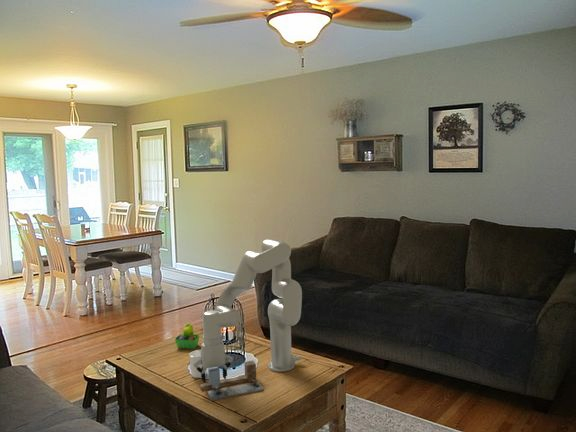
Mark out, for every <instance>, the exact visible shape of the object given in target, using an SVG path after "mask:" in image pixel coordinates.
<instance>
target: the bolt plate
mask: <svg viewBox="0 0 576 432" xmlns="http://www.w3.org/2000/svg"><path fill="white" fill-rule="evenodd" d="M264 389H265V388H264V387H263V385H262V384H261V383H260V382H259V381H254V382H253V381H252V382H249V383H245V384H240V385H239V384H238V385H234V386H228V387H223V388H218V389H214V390H209V391H207V395H208V397H209V400H210V401H211V402H213V401H219V400H222V399H228V398H234V397H239V396H243V395H247V394H253V393H258V392H263V391H264Z"/></svg>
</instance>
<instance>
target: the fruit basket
mask: <svg viewBox="0 0 576 432" xmlns="http://www.w3.org/2000/svg"><path fill="white" fill-rule="evenodd" d="M194 332H195V331H194V325H192V323H189V322H188V323H186V325H185V326H184V328H183V330H182V333H183V334H179V335H177V336H176V337H175V338H174V340H175V343H176V346H177V348H178V349H191V350H192V349H193V350H194V349H196V347H197V346H198V345H199V340H200V336H201V334H194Z"/></svg>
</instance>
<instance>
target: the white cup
mask: <svg viewBox="0 0 576 432" xmlns="http://www.w3.org/2000/svg"><path fill="white" fill-rule="evenodd" d="M188 356H189V364H190V372H191V376H192V377H193V378H198V379H200V378H201V373H200V372H199V371H198V370H197V369H196V368H195V367H194V363H196V362H197V361H198V360H199V359H200V358H201V349H196V350H193V351H191V352H189V355H188ZM198 366H199V367H200V368H201V367H202V366H203V365H201V363H200V364H199V365H198ZM207 369H208V368H207ZM207 369H206V370H205V375H207V373H208V371H207Z"/></svg>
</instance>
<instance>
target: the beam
mask: <svg viewBox="0 0 576 432" xmlns="http://www.w3.org/2000/svg"><path fill="white" fill-rule="evenodd" d="M243 364H244V375H241V376H237V377H231V378H226V379H220V384H219V387H218V388H220V387H225V386H230V385H235V384H240V383H246V382H252V383H253V382H255V381H256V379H257V363H256V362H255V361H254V360H248V361H244V363H243ZM199 388H200V391H204V390H210V389H212V385H210V383H209V382H205V383H204V382H203V383H200V384H199Z"/></svg>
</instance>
